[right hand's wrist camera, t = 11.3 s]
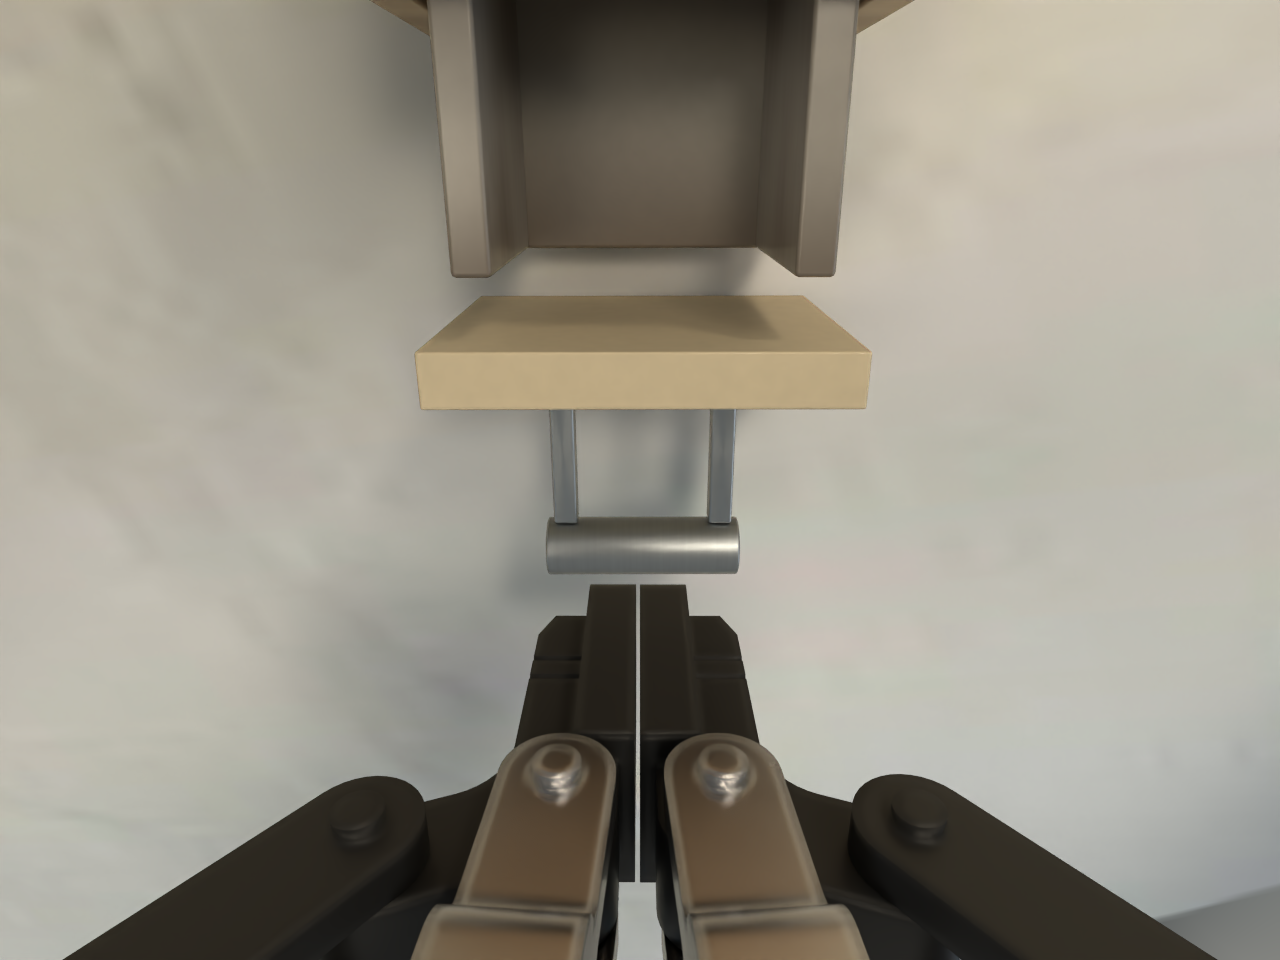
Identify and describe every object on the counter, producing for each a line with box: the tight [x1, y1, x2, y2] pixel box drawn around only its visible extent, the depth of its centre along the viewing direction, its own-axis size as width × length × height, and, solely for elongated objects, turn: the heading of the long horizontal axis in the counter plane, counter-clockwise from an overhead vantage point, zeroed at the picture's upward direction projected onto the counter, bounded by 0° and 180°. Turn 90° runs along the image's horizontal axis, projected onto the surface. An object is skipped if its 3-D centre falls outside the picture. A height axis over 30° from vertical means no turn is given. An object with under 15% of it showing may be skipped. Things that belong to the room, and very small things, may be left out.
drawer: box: [415, 0, 872, 574], centre depth 17 cm, size 25×9×7 cm, turn 0°
